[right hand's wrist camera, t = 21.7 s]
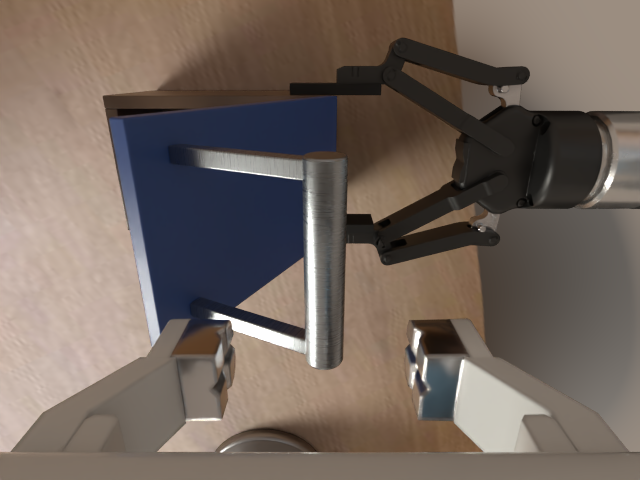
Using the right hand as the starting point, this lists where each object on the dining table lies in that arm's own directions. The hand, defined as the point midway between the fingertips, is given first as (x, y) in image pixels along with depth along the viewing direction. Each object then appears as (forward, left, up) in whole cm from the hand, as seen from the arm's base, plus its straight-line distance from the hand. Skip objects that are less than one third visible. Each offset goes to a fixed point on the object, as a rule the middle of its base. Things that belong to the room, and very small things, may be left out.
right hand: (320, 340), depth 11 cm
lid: (-2, -3, -13) cm, 14 cm away
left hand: (-2, -2, -24) cm, 24 cm away
